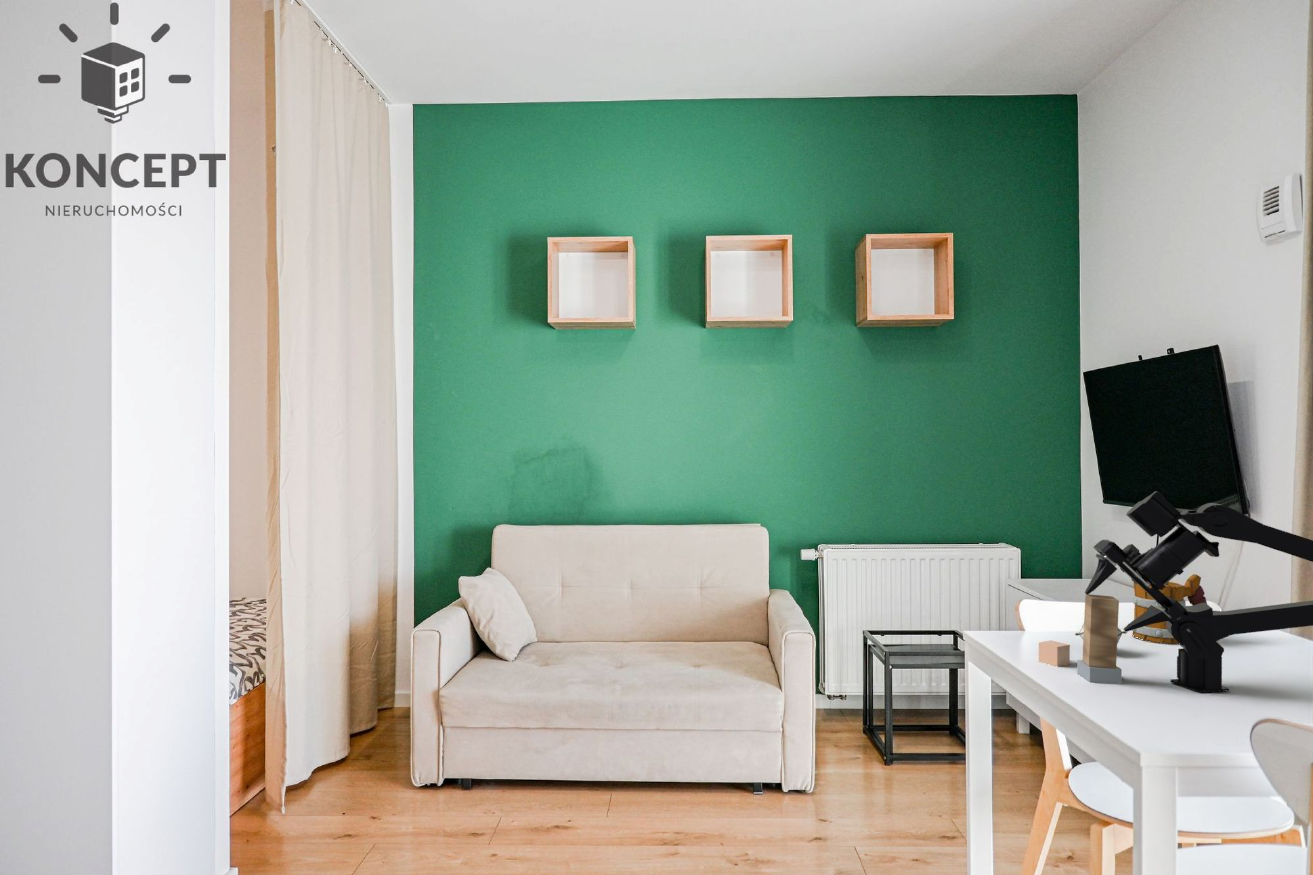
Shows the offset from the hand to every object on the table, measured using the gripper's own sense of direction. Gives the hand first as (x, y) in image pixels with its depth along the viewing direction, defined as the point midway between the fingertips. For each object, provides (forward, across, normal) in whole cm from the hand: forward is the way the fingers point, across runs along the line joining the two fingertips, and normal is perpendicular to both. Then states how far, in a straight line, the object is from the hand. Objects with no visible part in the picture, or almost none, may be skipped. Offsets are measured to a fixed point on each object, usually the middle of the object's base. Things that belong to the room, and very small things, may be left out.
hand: (1105, 612), depth 147 cm
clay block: (+14, -4, -9) cm, 17 cm away
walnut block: (+8, -6, +1) cm, 10 cm away
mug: (-8, -26, -41) cm, 49 cm away
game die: (+6, -12, -22) cm, 26 cm away
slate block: (+10, -8, 0) cm, 13 cm away
